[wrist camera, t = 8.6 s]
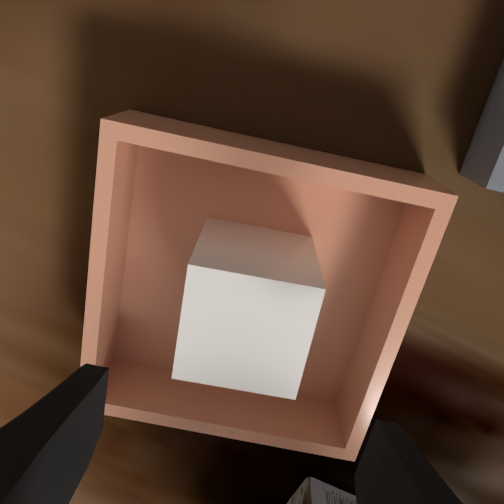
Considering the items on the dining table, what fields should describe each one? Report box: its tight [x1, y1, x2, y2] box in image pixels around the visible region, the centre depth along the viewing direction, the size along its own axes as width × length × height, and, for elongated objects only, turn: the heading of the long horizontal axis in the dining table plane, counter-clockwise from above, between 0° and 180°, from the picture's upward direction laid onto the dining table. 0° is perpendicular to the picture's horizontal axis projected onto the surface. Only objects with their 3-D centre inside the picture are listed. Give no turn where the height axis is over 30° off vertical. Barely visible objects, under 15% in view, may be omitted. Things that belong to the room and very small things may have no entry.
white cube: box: [171, 217, 326, 400], centre depth 18 cm, size 4×4×5 cm
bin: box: [80, 110, 458, 462], centre depth 19 cm, size 12×12×4 cm
